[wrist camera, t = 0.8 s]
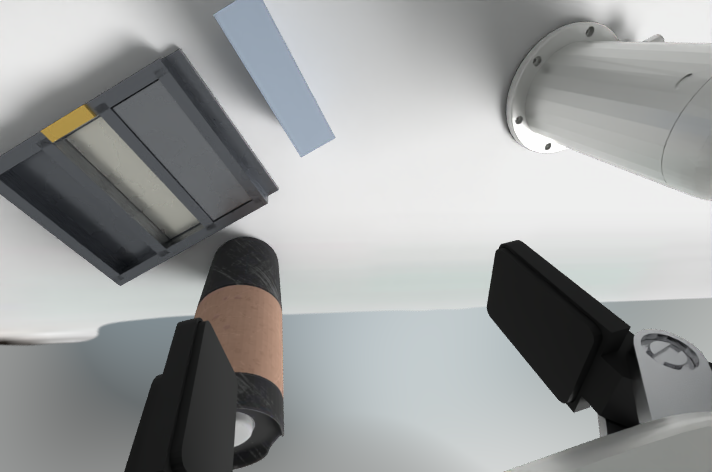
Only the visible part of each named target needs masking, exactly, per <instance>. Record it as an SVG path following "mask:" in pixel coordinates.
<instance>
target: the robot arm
mask: <svg viewBox="0 0 712 472" xmlns="http://www.w3.org/2000/svg"><path fill="white" fill-rule="evenodd" d="M506 116H507V123H508V127H509V129H510V132H511V134H512V136H513V137H514V139H515V140H516V141H517V142H518V143H519V144H520V145H521V146H523V147H525V148H527V149H529V150H531V151H534V152H538V153H552V152H557V151H560V150H563V149H566V148H569V149H571V150H574V151H577V152H579V153H582V154H584V155H587V156H590V157H592V158H595V159H597V160H600V161H603V162H605V163H608V164H610V165H613V166H615V167H618V168H621V169H623V170H626V171H628V172H631V173H634V174H636V175H639V176H641V177H644V178H647V179H649V180H652V181H654V182H657V183H659V184H662V185H665V186H667V187H670V188H672V189H675V190H677V191H680V192H683V193H685V194H688V195H690V196H693V197H696V198H700V199H704V200H708V201H712V43H673V42H664V38H663V37H662V36H661V35H659V34H657V35H654V36H652V37H650V38H648V39H646V40H645V41H643V42H622V41H619V40H618V38H617V37H616V35H615V34H614V32H613V31H612V30H610V29H609V28H608V27H606V26H605V25H602V24H599V23H596V22H577V23H571V24H568V25H565V26H562V27H560V28H558V29H556V30H554V31H553V32H551V33H549V34H548V35H547V36H546V37H544V38H543V39H542V40H541V41H539V42H538V43H537V44H536V45H535V46H534V48H533V49H532V50H531V51H530V52H529V53H528V54H527V56H526V57H525V59H524V60H523V62H522V63H521V64H520V66H519V68H518V70H517V72H516V74H515V76H514V78H513V81H512V84H511V86H510V89H509V93H508V98H507V106H506ZM487 311H488V314H489V316H490V317H491V318H492V319H493V321H494V322H495V323H496V324H497V326H498V327H499V328H500V329H501V331H502V332H503V333H504V334H505V335H506V337H507V338H508V339H509V340H510V342H511V343H512V344H513V345H514V346H515V348H516V349H517V350H518V351H519V352H520V354H521V355H522V356H523V357H524V359H525V360H526V361H527V362H528V363H529V365H530V366H531V367H532V368H533V370H534V371H535V372H536V373H537V374H538V376H539V377H540V378H541V379H542V380H543V382H544V383H545V384H546V385H547V387H548V388H549V389H550V390H551V392H552V393H553V394H554V395H555V396H556V397H557V399H558V400H559V401H561V402H562V403H566V404H567V405H568V406H569V407H570V409H571V410H572V411H573V412H577V411H580V410H583V409H586V408H589V407H590V405H591V407H593V409H594V410H595V411H596V412H597V413H598V423H599V432H600V438H597V439H594V440H592V441H589V442H586V443H583V444H580V445H578V446H575V447H572V448H569V449H566V450H564V451H561V452H558V453H555V454H552V455H550V456H547V457H544V458H541V459H538V460H535V461H533V462H530V463H527V464H524V465H521V466H518V467H516V468H513V469H510V470H507V471H504V472H712V363H710V362H708V361H707V359H706V358H705V357H704V355H703V353H702V352H701V351H700V350H699V349H698V348H697V347H695V346H694V345H693V344H691V343H690V342H688V341H687V340H685V339H684V338H682V337H680V336H677V335H675V334H673V333H669V332H666V331H663V330H657V329H644V330H641V331H639V332H637V333H636V334H635V335H634V334H632V333H631V332H630V331H629V329H630V326H629V325H628V324H626V323H625V322H624V321H622V320H621V319H620V318H619V317H617V316H616V315H615V314H614V313H612V312H611V311H610V310H608V309H607V308H606V307H605V306H603V305H602V304H601V303H600V302H598V301H597V300H596V299H595V298H593V297H592V296H591V295H589V294H588V293H587V292H586V291H584V290H583V289H582V288H580V287H579V286H578V285H577V284H575V283H574V282H573V281H572V280H570V279H569V278H568V277H566V276H565V275H564V274H563V273H561V272H560V271H559V270H558V269H556V268H555V267H554V266H552V265H551V264H550V263H549V262H547V261H546V260H545V259H544V258H542V257H541V256H540V255H538V254H537V253H536V252H535V251H533V250H532V249H531V248H529V247H528V246H527V245H526V244H524V243H523V242H522V241H520V240H516V241H512V242H508V243H504V244H501V245H500V246H499V249H498V250H496V253H495V258H494V265H493V271H492V277H491V283H490V290H489V296H488V302H487ZM237 393H238V382H237V377H236V374H235V372H234V370H233V368H232V366H231V364H230V362H229V360H228V358H227V356H226V354H225V352H224V350H223V348H222V346H221V344H220V342H219V339H218V337H217V335H216V333H215V331H214V329H213V327H212V325H211V323H210V322H209V321H203V320H202V318H200V317H198V318H194V319H190V320H186V321H182V322H179V323H178V324H177V326H176V330H175V333H174V337H173V340H172V344H171V347H170V351H169V354H168V358H167V361H166V365H165V368H164V372H163V374H161V375H158V376H156V378H155V379H154V380H153V382H152V385H151V388H150V391H149V394H148V398H147V401H146V404H145V407H144V410H143V413H142V417H141V420H140V423H139V426H138V429H137V433H136V436H135V439H134V442H133V445H132V449H131V452H130V455H129V458H128V461H127V465H126V468H125V471H124V472H232V470H233V456H234V440H235V424H236V408H237Z"/></svg>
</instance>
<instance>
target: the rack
mask: <svg viewBox="0 0 712 472" xmlns="http://www.w3.org/2000/svg"><path fill="white" fill-rule="evenodd" d="M276 191H278V186H277V185H276V184H275V182H274V181H273V179H272V178H271V176H270V175H269V174H268V172H267V171H266V169H265V168H264V166H263V165H262V164H261V162H260V161H259V159H258V158H257V157H256V155H255V154H254V152H253V151H252V149H251V148H250V147H249V145H248V144H247V142H246V141H245V139H244V138H243V137H242V135H241V134H240V132H239V131H238V129H237V128H236V127H235V125H234V124H233V122H232V121H231V120H230V118H229V117H228V115H227V114H226V112H225V111H224V110H223V108H222V107H221V105H220V104H219V102H218V101H217V100H216V98H215V97H214V95H213V94H212V93H211V91H210V90H209V88H208V87H207V85H206V84H205V83H204V81H203V80H202V78H201V77H200V75H199V74H198V73H197V71H196V70H195V68H194V67H193V66H192V64H191V63H190V61H189V60H188V58H187V57H186V56H185V54H184V53H183V51H182V50H181V49H178V50H177V51H175V52H174V53H172V54H170V55H169V56H167V57H165V58H160V59H158V60H156V61H154V62H153V63H151V64H150V65H148V66H146V67H145V68H143V69H141V70H140V71H138V72H137V73H135V74H133V75H132V76H130V77H128V78H127V79H125V80H124V81H122V82H120V83H119V84H117V85H115V86H114V87H112V88H111V89H109V90H107V91H106V92H104V93H102V94H101V95H99V96H97V97H96V98H94V99H93V100H91V101H89V102H88V103H86V104H84V105H82V106H80V107H79V108H77V109H76V110H74V111H72V112H71V113H69V114H67V115H66V116H64V117H62V118H61V119H59V120H58V121H56V122H54V123H53V124H51V125H49V126H48V127H46V128H45V129H43V130H41V131H40V132H39V133H37V134H36V135H34V136H32V137H31V138H29V139H27V140H26V141H24V142H23V143H21V144H19V145H18V146H16V147H14V148H13V149H11V150H9V151H8V152H6V153H5V154H3V155H1V156H0V194H1V195H2V196H4V197H5V198H6V199H7V200H9V201H10V202H11V203H13V204H14V205H15V206H17V207H18V208H19V209H20V210H22V211H23V212H24V213H26V214H27V215H28V216H30V217H31V218H32V219H33V220H35V221H36V222H37V223H39V224H40V225H41V226H43V227H44V228H45V229H47V230H48V231H49V232H50V233H52V234H53V235H54V236H56V237H57V238H58V239H60V240H61V241H62V242H63V243H65V244H66V245H67V246H69V247H70V248H71V249H73V250H74V251H75V252H76V253H78V254H79V255H80V256H82V257H83V258H84V259H86V260H87V261H88V262H90V263H91V264H92V265H93V266H95V267H96V268H97V269H99V270H100V271H101V272H103V273H104V274H105V275H106V276H108V277H109V278H110V279H112V280H113V281H114V282H116V283H117V284H118V285H120V286H121V285H123V284H125V283H126V282H128V281H130V280H132V279H134V278H135V277H137V276H139V275H141V274H143V273H144V272H146V271H148V270H150V269H151V268H153V267H155V266H157V265H159V264H160V263H162V262H164V261H166V260H168V259H169V258H171V257H173V256H175V255H176V254H178V253H180V252H182V251H184V250H185V249H187V248H189V247H191V246H193V245H194V244H196V243H198V242H200V241H201V240H203V239H205V238H207V237H209V236H210V235H212V234H214V233H216V232H218V231H219V230H221V229H223V228H225V227H226V226H228V225H230V224H232V223H234V222H235V221H237V220H239V219H241V218H243V217H244V216H246V215H248V214H250V213H251V212H253V211H255V210H257V209H259V208H260V207H262V206H264V205H266V204H268V196H269V195H270V194H272V193H274V192H276Z"/></svg>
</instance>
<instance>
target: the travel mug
mask: <svg viewBox="0 0 712 472" xmlns="http://www.w3.org/2000/svg"><path fill="white" fill-rule="evenodd" d="M198 317H200V318H202V320H203V321H209V322H210V323H211V325H212V327H213V329H214V331H215V333H216V335H217V337H218V339H219V342H220V344H221V346H222V348H223V350H224V352H225V354H226V356H227V358H228V360H229V362H230V364H231V366H232V368H233V370H234V372H235V374H236V377H237V382H238V393H237V408H236V424H235V440H234V456H233V469H238V468H242V467H245V466H248V465H251V464H253V463H256V462H258V461H259V460H261V459H263V458H264V457H265V456H266V455H267V453H268V451H269V449H270V447H271V446H272V444H273V443H274V442H275V441H276V439H277V438H278V437H279V436H281V435H282V436H284V414H283V413H284V412H283V347H282V346H283V344H282V305H281V292H280V278H279V266H278V259H277V256H276V253H275V252H274V250H273V249H272V248H271V247H270V246H269V245H268V244H266V243H265V242H263V241H261V240H258V239H255V238H247V237H243V238H236V239H233V240H230V241H228V242H226V243H225V244H223V245H222V246H221V247H220V248H219V249H218V251H217V252H216V254H215V256H214V259H213V262H212V264H211V267H210V270H209V273H208V276H207V279H206V282H205V285H204V288H203V291H202V295H201V298H200V301H199V304H198V307H197V310H196V313H195V317H194V318H198Z"/></svg>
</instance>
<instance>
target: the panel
mask: <svg viewBox="0 0 712 472" xmlns="http://www.w3.org/2000/svg"><path fill="white" fill-rule="evenodd" d="M213 15H214V17H215V19H216V20H217V22H218V24H219V25H220V27H221V28H222V30H223V32H224V33H225V35H226V37H227V38H228V40H229V41H230V43H231V45H232V46H233V48H234V50H235V51H236V53H237V54H238V56H239V58H240V59H241V61H242V62H243V64H244V66H245V67H246V69H247V71H248V72H249V74H250V75H251V77H252V79H253V80H254V82H255V84H256V85H257V87H258V88H259V90H260V92H261V93H262V95H263V97H264V98H265V100H266V101H267V103H268V105H269V106H270V108H271V109H272V111H273V113H274V114H275V116H276V118H277V119H278V121H279V122H280V124H281V126H282V127H283V129H284V131H285V132H286V134H287V135H288V137H289V139H290V140H291V142H292V144H293V145H294V147H295V148H296V150H297V152H298V153H299V155H300V156H301V157H303V156H304V155H306V154H308V153H310V152H312V151H313V150H315V149H317V148H319V147H320V146H322V145H324V144H326V143H327V142H329V141H331V140H333V139H334V138H335V136H334V134H333V132H332V130H331V128H330V127H329V125H328V123H327V121H326V119H325V117H324V115H323V113H322V111H321V110H320V108H319V106H318V104H317V102H316V100H315V98H314V96H313V94H312V93H311V91H310V89H309V87H308V85H307V83H306V81H305V79H304V77H303V75H302V74H301V72H300V70H299V68H298V66H297V64H296V62H295V60H294V58H293V57H292V55H291V53H290V51H289V49H288V47H287V45H286V43H285V41H284V40H283V38H282V36H281V34H280V32H279V30H278V28H277V26H276V24H275V23H274V21H273V19H272V17H271V15H270V13H269V11H268V9H267V7H266V6H265V4H264V2H263V0H236V1H234V2H233V3H231V4H229V5H228V6H226V7H225V8H223V9H221V10H220V11H218V12H216V13H215V14H213Z"/></svg>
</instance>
